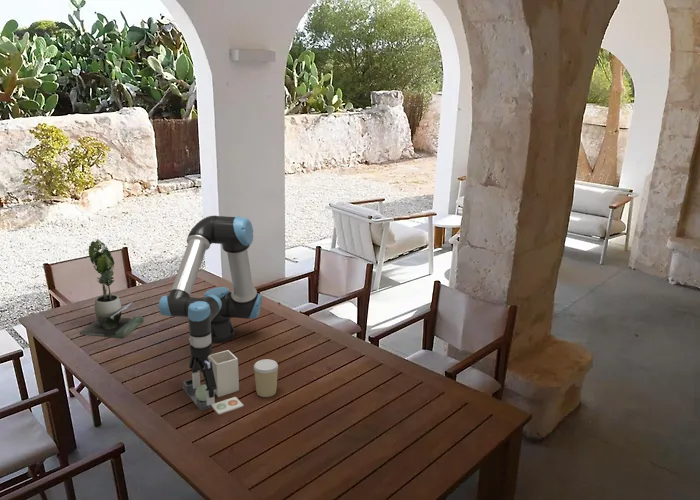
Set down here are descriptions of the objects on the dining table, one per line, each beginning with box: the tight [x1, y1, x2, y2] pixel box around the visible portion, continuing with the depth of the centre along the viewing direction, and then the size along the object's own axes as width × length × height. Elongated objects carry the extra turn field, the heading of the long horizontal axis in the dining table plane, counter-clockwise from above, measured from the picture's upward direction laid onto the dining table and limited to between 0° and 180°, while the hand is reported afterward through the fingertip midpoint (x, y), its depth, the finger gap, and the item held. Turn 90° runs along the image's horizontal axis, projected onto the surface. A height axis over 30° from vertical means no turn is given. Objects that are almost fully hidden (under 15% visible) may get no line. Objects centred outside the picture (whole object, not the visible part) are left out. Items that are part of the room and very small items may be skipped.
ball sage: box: [195, 384, 207, 401], centre depth 213 cm, size 6×6×6 cm
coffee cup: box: [253, 358, 279, 398], centre depth 223 cm, size 9×9×12 cm
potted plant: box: [79, 238, 144, 339], centre depth 269 cm, size 22×19×45 cm
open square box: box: [208, 349, 240, 398], centre depth 224 cm, size 9×9×14 cm
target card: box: [211, 396, 245, 415], centre depth 215 cm, size 10×7×1 cm
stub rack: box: [182, 378, 212, 412], centre depth 220 cm, size 5×19×3 cm, turn 36°
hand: (203, 395), depth 213 cm, fingers open, 13 cm apart
